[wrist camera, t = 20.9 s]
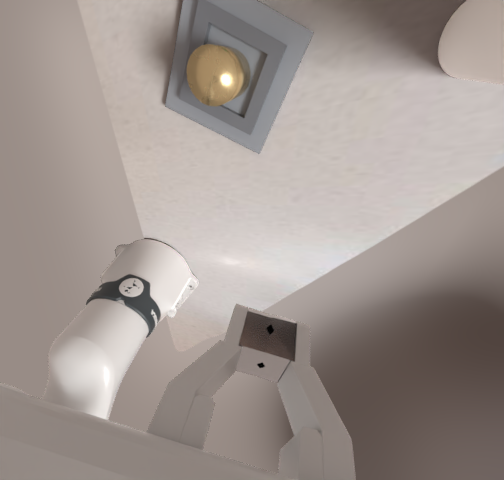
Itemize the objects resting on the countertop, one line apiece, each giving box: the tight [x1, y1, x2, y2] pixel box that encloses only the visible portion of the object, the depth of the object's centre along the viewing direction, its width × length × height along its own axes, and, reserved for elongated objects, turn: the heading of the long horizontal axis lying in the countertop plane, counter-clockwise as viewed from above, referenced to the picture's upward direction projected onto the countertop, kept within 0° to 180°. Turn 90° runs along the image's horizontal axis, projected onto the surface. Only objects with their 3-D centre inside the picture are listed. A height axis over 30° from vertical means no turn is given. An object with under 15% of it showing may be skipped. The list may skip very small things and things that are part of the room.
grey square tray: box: [165, 0, 314, 154], centre depth 29 cm, size 14×14×2 cm
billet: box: [187, 44, 251, 106], centre depth 27 cm, size 5×5×7 cm
